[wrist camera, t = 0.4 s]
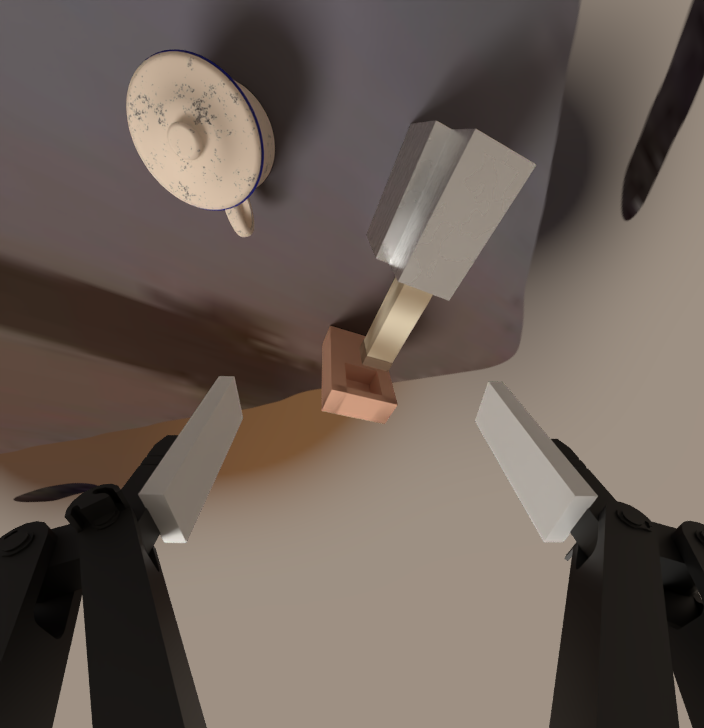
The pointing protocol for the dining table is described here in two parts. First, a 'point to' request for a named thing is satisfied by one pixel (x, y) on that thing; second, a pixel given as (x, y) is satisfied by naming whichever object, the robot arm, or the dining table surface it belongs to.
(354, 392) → the socket block
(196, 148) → the teacup with lid
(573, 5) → the dining table surface
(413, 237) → the sleeve
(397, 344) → the bar
